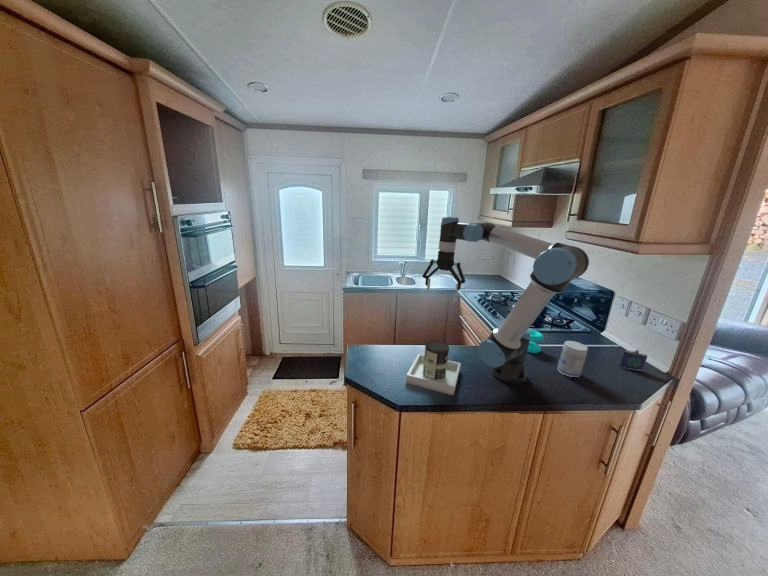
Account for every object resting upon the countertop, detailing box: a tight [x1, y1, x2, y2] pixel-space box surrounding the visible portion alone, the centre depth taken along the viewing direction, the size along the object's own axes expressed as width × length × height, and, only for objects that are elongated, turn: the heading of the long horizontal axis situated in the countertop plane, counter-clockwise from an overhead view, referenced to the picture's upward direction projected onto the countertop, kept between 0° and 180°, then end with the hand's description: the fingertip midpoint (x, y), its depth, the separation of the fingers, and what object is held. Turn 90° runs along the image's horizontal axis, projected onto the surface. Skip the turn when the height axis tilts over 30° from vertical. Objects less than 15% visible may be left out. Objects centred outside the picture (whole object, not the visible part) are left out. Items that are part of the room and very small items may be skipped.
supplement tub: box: [557, 340, 589, 378], centre depth 136 cm, size 10×10×15 cm
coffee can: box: [423, 340, 450, 381], centre depth 127 cm, size 10×10×14 cm
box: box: [405, 353, 462, 397], centre depth 129 cm, size 20×20×4 cm
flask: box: [619, 349, 648, 370], centre depth 143 cm, size 9×3×11 cm, turn 68°
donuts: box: [527, 329, 545, 354], centre depth 158 cm, size 10×10×10 cm
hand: (441, 294), depth 142 cm, fingers open, 13 cm apart
